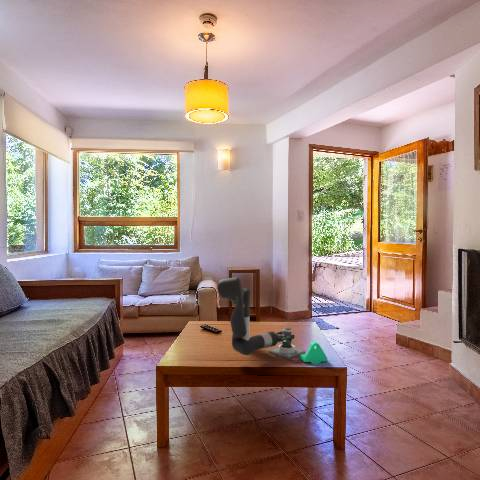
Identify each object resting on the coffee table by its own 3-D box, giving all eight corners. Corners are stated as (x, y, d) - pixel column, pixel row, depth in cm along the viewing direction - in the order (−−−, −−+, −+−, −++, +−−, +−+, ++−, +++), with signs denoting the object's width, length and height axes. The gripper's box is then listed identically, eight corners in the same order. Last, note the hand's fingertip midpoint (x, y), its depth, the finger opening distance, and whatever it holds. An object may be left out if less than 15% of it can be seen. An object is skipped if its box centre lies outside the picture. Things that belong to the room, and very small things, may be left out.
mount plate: (268, 352, 207) (268, 346, 206) (284, 347, 216) (284, 341, 216) (288, 358, 197) (288, 351, 196) (304, 352, 206) (304, 346, 206)
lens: (279, 350, 206) (280, 328, 206) (285, 348, 210) (286, 327, 210) (287, 352, 203) (287, 330, 203) (293, 350, 206) (293, 329, 206)
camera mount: (321, 358, 198) (322, 338, 198) (327, 363, 191) (327, 342, 190) (299, 359, 196) (300, 339, 196) (304, 364, 189) (304, 343, 189)
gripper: (276, 335, 191) (298, 330, 201) (257, 330, 202) (278, 325, 212) (276, 350, 191) (297, 344, 202) (257, 344, 202) (278, 338, 213)
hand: (288, 334), depth 207 cm, fingers open, 8 cm apart
